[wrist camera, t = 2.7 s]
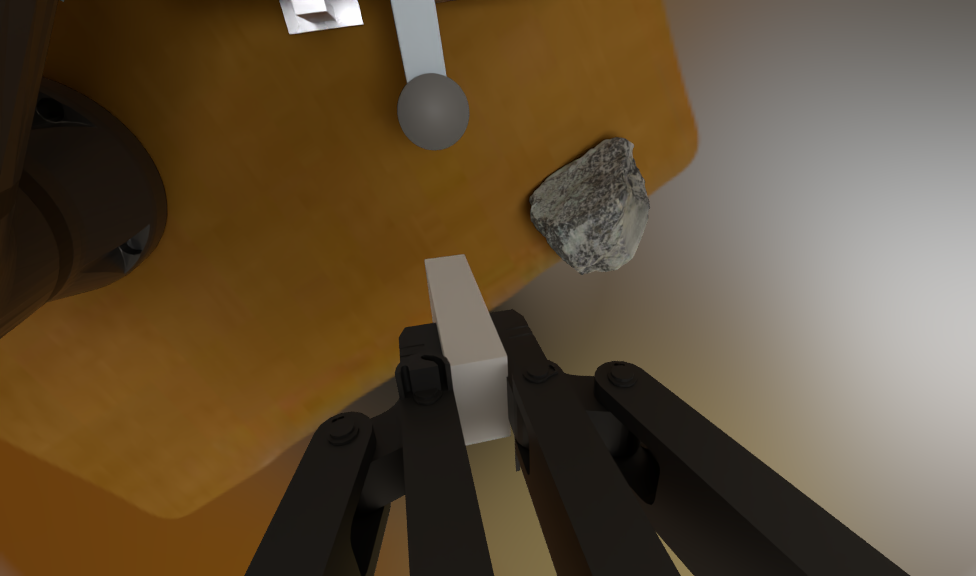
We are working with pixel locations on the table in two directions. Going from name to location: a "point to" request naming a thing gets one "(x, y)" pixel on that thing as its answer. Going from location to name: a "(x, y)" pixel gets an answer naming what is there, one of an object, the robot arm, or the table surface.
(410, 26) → the seesaw
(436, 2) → the tray
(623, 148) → the stone
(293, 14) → the pivot stand
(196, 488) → the table surface
